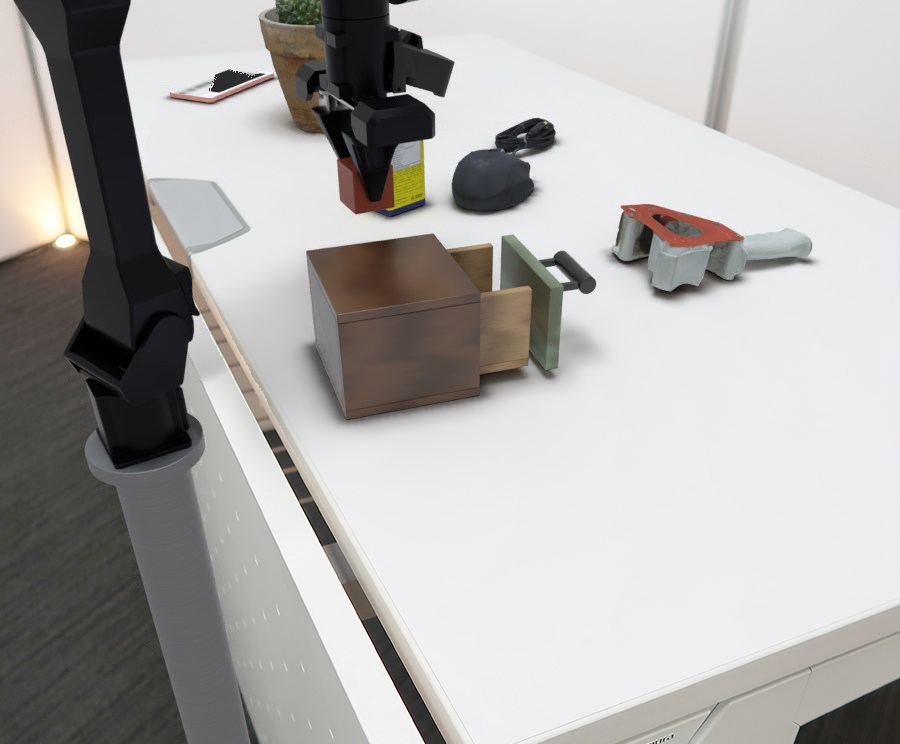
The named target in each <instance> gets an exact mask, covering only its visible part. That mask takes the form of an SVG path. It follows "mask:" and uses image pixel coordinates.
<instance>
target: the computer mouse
mask: <svg viewBox="0 0 900 744" xmlns="http://www.w3.org/2000/svg"><path fill="white" fill-rule="evenodd" d="M524 134H525V137H518V136H520V135H524ZM556 134H557V132H556V129H555V125H554V124H553V123H552V122H551V121H550V120H549V121H548V120H547V119H544V118H541V117H532V118H529V119H526V120H524V121H521V122H519V123H517V124H515V125H513V126H511V127H508V128H506V129H505V130H503V131H501V132H498V133H497V134H495V137H494V145H495V147H496V148H490V149H489V148H485V149H478V150H474V151H470V152H469V153H467V154H466V155H464V157H462V159H460V160H459V161H458V163H457V165H456V167H455V169H454V172H453V174H452V179H451V193H452V197H453V199H454V201H455V203H456V204H457V205H458V206H459V207H461V208H462V209H465V210H469V211H475V212H494V211H501V210H504V209H508V208H511V207H514V206H516V205H518V204H520V203H521V202H522V201H523V200H524V199H526V198H527V197H528V196H529V195H530V193H531V192H532V191H533V190H534V188H535V183H534V180H533V179H532V178H531V177H530V172H531V163H530V162H528V161H524V160H523V159H520V158H518V157H517V156H515V154H516V153H518V152H520V151H522V150H527V149H529V150H531V149H537V148H541V147H544V146H549V144H552V143H554V141H555V138H556V137H555V136H556Z"/></svg>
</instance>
